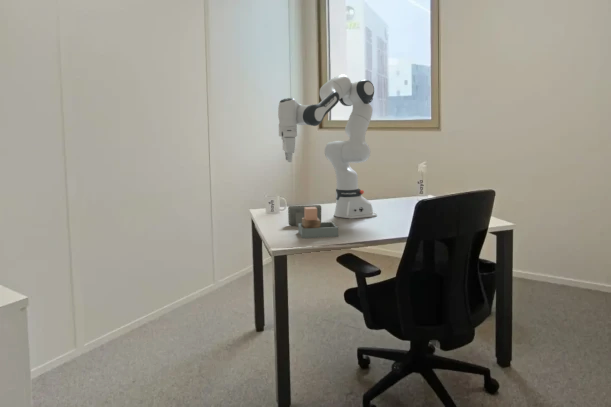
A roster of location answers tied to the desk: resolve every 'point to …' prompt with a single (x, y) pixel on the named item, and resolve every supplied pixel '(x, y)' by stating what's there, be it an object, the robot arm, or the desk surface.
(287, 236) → the desk surface
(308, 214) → the light cube
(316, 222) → the block
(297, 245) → the desk surface
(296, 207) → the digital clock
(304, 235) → the tote
